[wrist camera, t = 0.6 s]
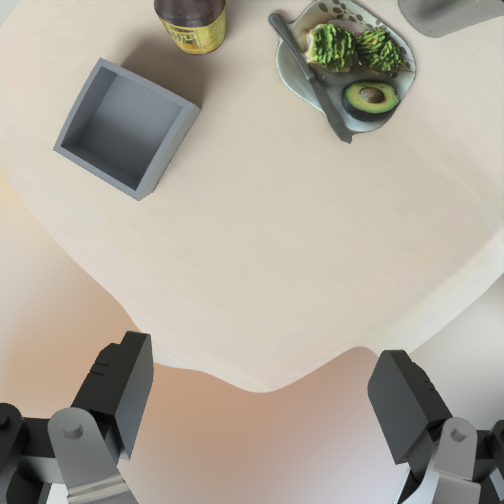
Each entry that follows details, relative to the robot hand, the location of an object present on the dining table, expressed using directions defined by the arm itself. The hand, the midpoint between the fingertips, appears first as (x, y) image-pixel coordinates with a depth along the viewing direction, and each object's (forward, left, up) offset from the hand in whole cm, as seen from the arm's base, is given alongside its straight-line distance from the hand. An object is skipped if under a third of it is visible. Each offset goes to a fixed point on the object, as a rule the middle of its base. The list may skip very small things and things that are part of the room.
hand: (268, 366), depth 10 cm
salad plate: (-22, +1, -30) cm, 37 cm away
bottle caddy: (-1, -17, -29) cm, 34 cm away
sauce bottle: (-15, -16, -30) cm, 37 cm away
